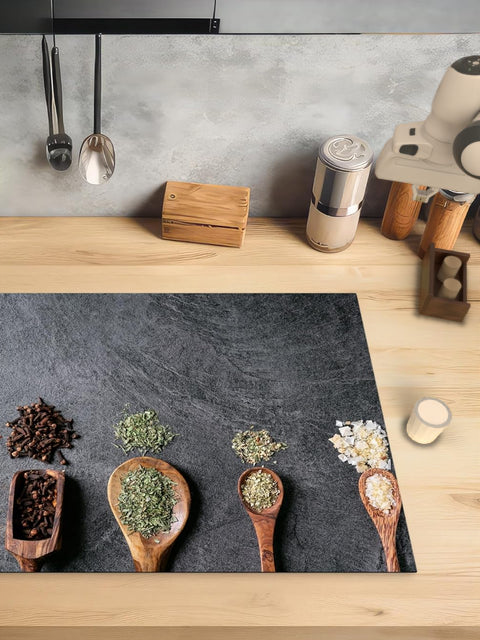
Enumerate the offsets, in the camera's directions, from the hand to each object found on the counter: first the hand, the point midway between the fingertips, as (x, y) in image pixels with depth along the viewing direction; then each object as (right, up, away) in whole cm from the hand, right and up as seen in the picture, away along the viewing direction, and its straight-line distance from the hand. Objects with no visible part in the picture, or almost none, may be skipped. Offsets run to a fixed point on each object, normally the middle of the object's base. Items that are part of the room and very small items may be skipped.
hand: (419, 199), depth 145 cm
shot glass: (-1, -46, -3) cm, 46 cm away
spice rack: (+12, -17, +18) cm, 27 cm away
